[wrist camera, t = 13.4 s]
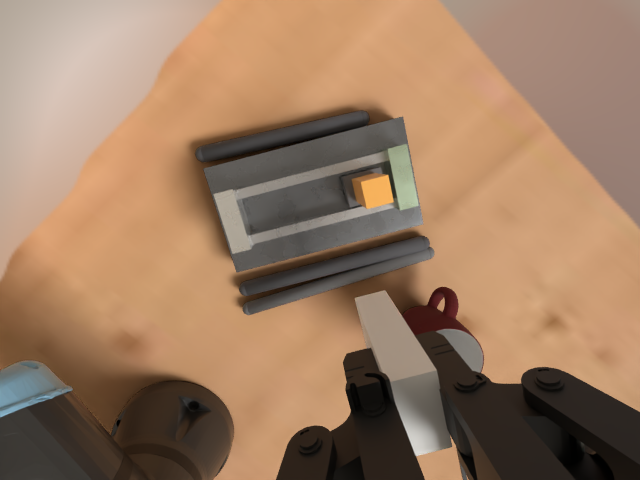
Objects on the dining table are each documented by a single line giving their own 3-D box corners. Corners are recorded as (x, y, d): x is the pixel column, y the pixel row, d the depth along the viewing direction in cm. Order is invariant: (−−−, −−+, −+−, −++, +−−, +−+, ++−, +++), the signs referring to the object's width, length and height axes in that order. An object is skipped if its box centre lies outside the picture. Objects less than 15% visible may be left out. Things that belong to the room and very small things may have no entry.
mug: (395, 269, 44) (422, 299, 34) (457, 278, 45) (500, 310, 35) (379, 345, 46) (399, 393, 36) (437, 352, 47) (473, 402, 37)
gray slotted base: (241, 265, 43) (231, 281, 37) (210, 168, 40) (194, 169, 34) (415, 220, 43) (432, 228, 37) (395, 119, 40) (411, 112, 34)
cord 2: (246, 313, 44) (244, 318, 43) (242, 302, 44) (239, 307, 42) (432, 255, 44) (437, 258, 42) (429, 243, 43) (434, 246, 42)
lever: (347, 204, 39) (359, 216, 30) (340, 176, 38) (350, 179, 30) (382, 195, 39) (403, 204, 30) (376, 166, 38) (396, 167, 30)
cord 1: (200, 163, 40) (195, 163, 38) (196, 148, 40) (191, 147, 38) (369, 126, 40) (372, 124, 38) (366, 110, 40) (369, 107, 38)
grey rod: (242, 294, 44) (240, 299, 42) (238, 281, 43) (236, 286, 42) (427, 246, 44) (433, 250, 42) (425, 233, 43) (430, 235, 41)
